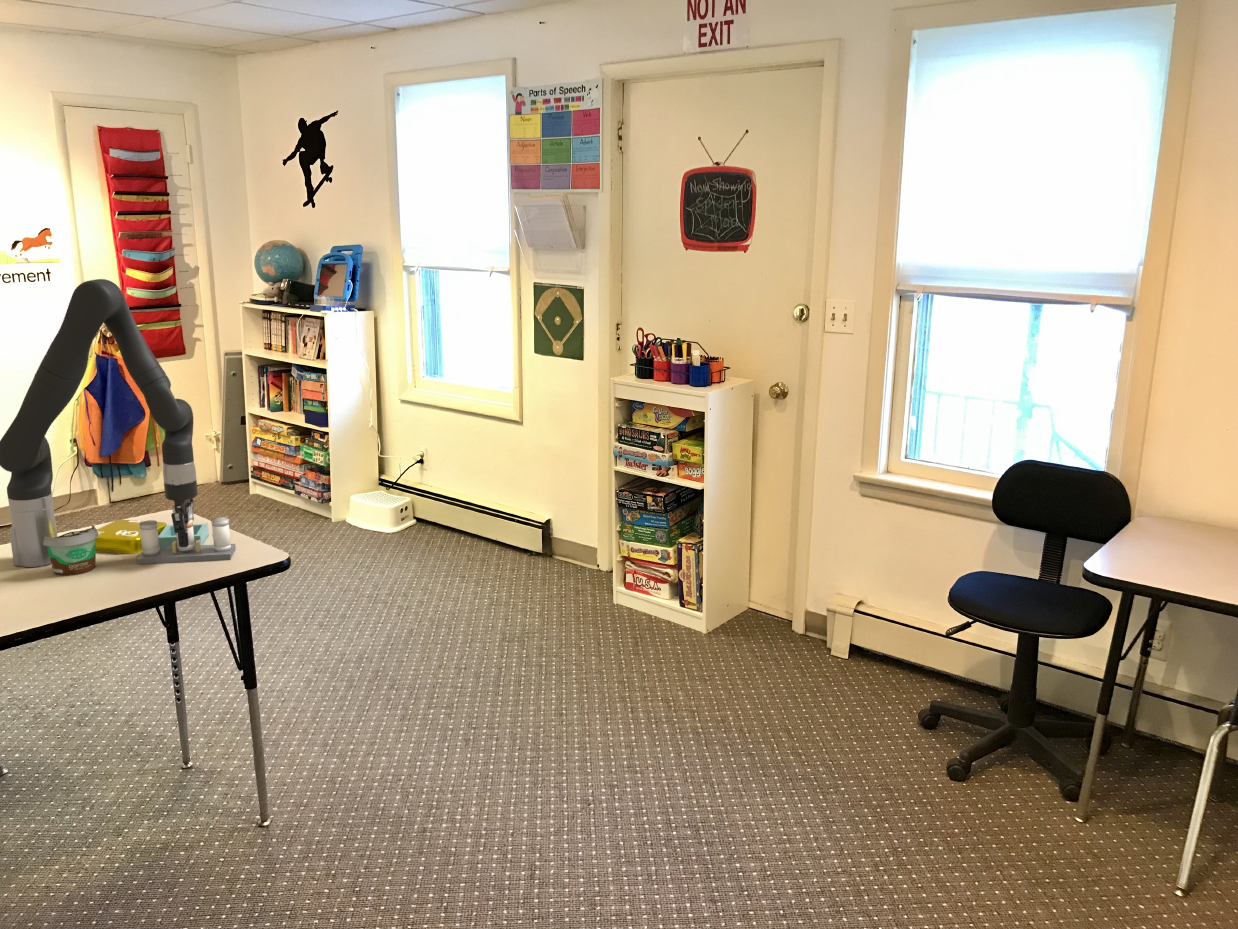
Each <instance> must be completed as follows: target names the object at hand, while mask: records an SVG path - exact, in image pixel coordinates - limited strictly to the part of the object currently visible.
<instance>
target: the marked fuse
mask: <svg viewBox="0 0 1238 929" xmlns="http://www.w3.org/2000/svg"><path fill="white" fill-rule="evenodd" d="M189 515H190V522H189V523H188V540H189V545H188V547H180V546H179V541H178V533H176V535H177V548H178V550H180V551H188V550H192V549H194V548H195V542H194V531H193V524H194V520H192V519H193V518H194V516H193V517H192V513H189ZM185 520H186V518H185V519H184V521H185ZM179 528H182V526H179Z"/></svg>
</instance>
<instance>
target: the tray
mask: <svg viewBox="0 0 1238 929" xmlns="http://www.w3.org/2000/svg"><path fill="white" fill-rule="evenodd" d="M193 531H194V542H195V546H196V541H197V540H201V545H205V543H206V541H207V540H208V538H209V536H210V533H209V523H193ZM158 538H159V547H172V543H173V541H177V535H176V533H175V532H174V526H173V524H168V525H166V527H165V528H164V529H163V531H162V532H161V533H160V535H159V536H158Z"/></svg>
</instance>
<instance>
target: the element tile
mask: <svg viewBox="0 0 1238 929" xmlns="http://www.w3.org/2000/svg"><path fill="white" fill-rule="evenodd" d="M143 521H144V520H136V519H135V520H134V519H116V520H114V521H112V522H110V523H108V524H105V525H104V526H101V527H99V528H98V529H97V528H96V529H97V532H98V537H97V538H95V544H96V552H99V553H115V554H127V555H134V554H135V555H136V554H140V553H141V552H142V545H141V536H140V528H139V523H140V522H143ZM166 525H167V523H166V522H164V521H163V522H161V521H157V526H158V527H157V528H158V536H159V535H160V533H161V532H162V531H163V529H164V528H165V527H166Z"/></svg>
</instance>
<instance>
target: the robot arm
mask: <svg viewBox="0 0 1238 929" xmlns="http://www.w3.org/2000/svg"><path fill="white" fill-rule="evenodd" d="M64 314H65V315H64V317H63V320H62V322H61V325H60V327H59V329H58V331H57V333H56V335H55V336H54V338H53V340H52V341H51V344H50V345H49V347H48V349H47V351H46V353H45V354H44V356H43V358H42V360H41V362H40V364H39V365H38V368H37V369H36V372H35V374H34V376H33V378H32V381H31V383H30V385H29V387H28V390H27V391H26V394H25V396H24V398H23V401H22V403H21V405H20V408H19V410H18V412H17V414H16V416H15V417H14V419H13V420H12V422H11V424H10V425H9V427H8V428H7V430H6V431H5V433H4V434H3V436H2V437H1V439H0V467H1V468H2V469H3V470H4V471H6V472H9V473H11V475H10V478H9V482H8V484H7V486H6V493H7V501H8V508H9V512H10V514H9V515H10V522H11V527H10V528H9V529H8V532H9V539H10V546H11V553H12V560H13V566H14V567H15V566H20V567H24V568H33V567H34V568H35V567H36V568H37V567H43V566H46V565H52V564H51V561H50V557H49V553H48V549H47V546H45V545H43V543H44V539H45V536H46V537H52V538H55V537H58V530H57V523H56V515H55V514H56V513H55V508H54V507H55V506H54V499H53V493H52V484H53V480H54V477H53V476H54V475H53V462H52V453H51V447H50V443H49V441H48V439H47V437H46V434H47V432H48V430H50V427H51V426H52V424H53V423H54V422H55V420H57V418H58V417H59V415H60V414H61V413H62V412H63V411H64V410H65V408H66V407H67V406H68V405H69V403H70V402H71V401H72V399H73V398H74V396H75V394H76V392H77V391H78V389H79V386H80V385H81V383H82V381H83V379H84V377H85V374H86V372H87V368H88V363H89V357H90V351H91V346H92V344H93V341H94V339H95V337H96V335H97V334H98V332H99V331H100V328H101V327H102V326H103V325H104V326H105V327H106V328H107V329H108V331H109V332H110V334H111V335H112V336H113V340H114V341H115V343H116V344H117V348H118V351H119V353H120V356H121V359H122V361H123V364H124V366H125V368H126V370H127V372H128V373H129V376H130V377H131V379H132V381H133V382H134V383H135V385H136V386H137V388H138V389H139V391H140V392H141V394H142V396H143V397H144V400H145V403H146V406H147V409H148V410H149V413H150V414H151V417H152V418H153V420H154V422H155V423H156V424H157V425H158V427H160V428H161V429H163V430H164V439H163V440H162V444H161V454H162V455H161V457H162V476H163V487H164V488H163V489H164V490H163V491H164V496H165V498H166V499H167V500H169V501H173V502H174V503H173V504H174V505H172V513H171V516H170V517H171V521H172V525H173V526H174V532H175V533H178V541H179V546H180V547H188V545H189V540H188V523H189V522H190V515H189V513H192V517H193V519H192V520H193V521H195V519H194V498H196V497H197V496H198V495H199V493H198V481H197V479H198V478H197V470H196V465H195V459H194V458H195V457H194V449H193V448H194V447H193V434H194V412H193V409H192V407H191V405H190V404H189V402H188V401H186V400H184V399H182V398H175V395H174V394H173V392H172V390H171V386H172V384H171V380H170V378H169V377H168V376H167V374H166V371H165V370H164V369H163V367H162V366H161V364H160V363H159V361H158V360H157V357H156V356H155V355H154V353H153V352H152V350H151V348H150V347H149V344H148V343H147V341H146V340H145V338H144V336H143V334H142V333H141V331H140V329H139V326H138V324H137V323H136V321H135V318H134V316H133V314H132V312H131V309H130V307H129V304H128V302H127V300H126V298H125V295H124V294H123V291H122V289H121V288H120V287H119V286H118V284H116V283H115V282H113V281H111V280H109V279H105V278H104V279H103V278H99V279H91V280H86V281H83V282H81V283H80V284H78V286H76V288H74V290H73V292H72V295H71V297H70V301H69V303H68V306H67V309H66V312H65V313H64ZM185 518H186V520H185V521H184V519H185ZM179 526H182V528H179Z"/></svg>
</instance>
